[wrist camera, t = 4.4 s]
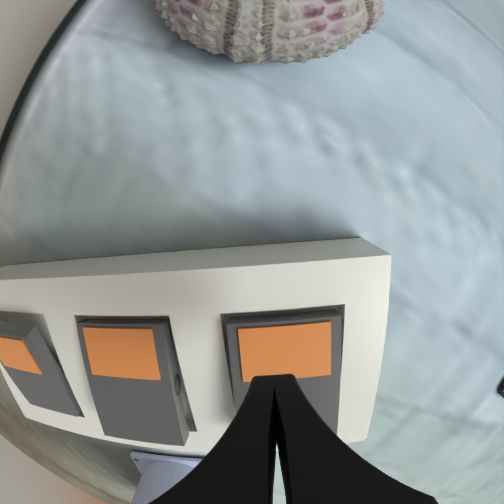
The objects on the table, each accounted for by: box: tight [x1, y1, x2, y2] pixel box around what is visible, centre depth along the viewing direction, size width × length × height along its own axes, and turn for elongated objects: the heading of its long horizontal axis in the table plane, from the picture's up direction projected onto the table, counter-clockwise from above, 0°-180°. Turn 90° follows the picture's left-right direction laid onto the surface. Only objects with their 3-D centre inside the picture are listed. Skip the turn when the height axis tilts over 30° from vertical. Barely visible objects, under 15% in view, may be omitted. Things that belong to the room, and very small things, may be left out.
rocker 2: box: [226, 309, 341, 445], centre depth 13 cm, size 7×5×2 cm
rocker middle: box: [76, 318, 189, 446], centre depth 14 cm, size 7×5×2 cm
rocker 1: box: [0, 321, 81, 417], centre depth 14 cm, size 7×5×2 cm
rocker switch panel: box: [0, 238, 391, 453], centre depth 16 cm, size 12×26×4 cm, turn 95°
